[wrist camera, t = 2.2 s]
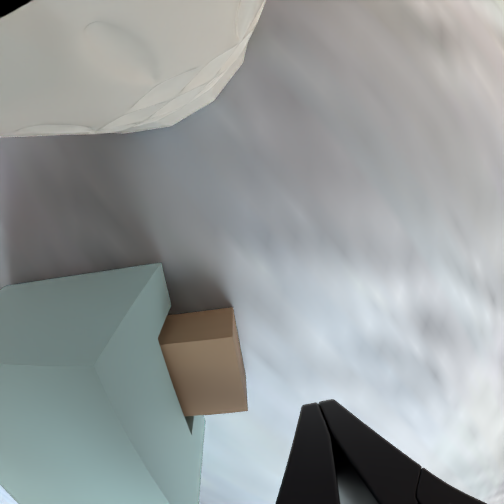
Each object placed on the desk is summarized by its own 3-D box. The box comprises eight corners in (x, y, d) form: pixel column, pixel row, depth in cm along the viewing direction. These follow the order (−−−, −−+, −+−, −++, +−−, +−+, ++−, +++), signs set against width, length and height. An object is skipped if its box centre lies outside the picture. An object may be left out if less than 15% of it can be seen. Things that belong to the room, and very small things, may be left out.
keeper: (205, 421, 12) (196, 539, 7) (66, 420, 12) (22, 507, 7) (161, 262, 10) (93, 365, 5) (5, 285, 10) (-87, 354, 5)
